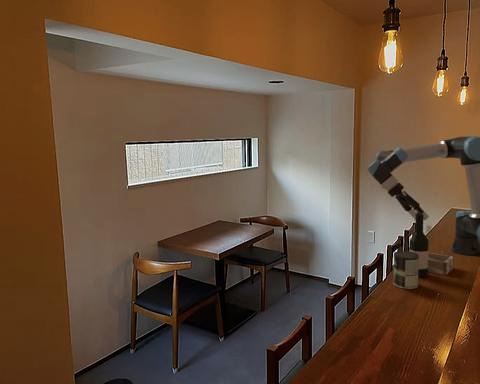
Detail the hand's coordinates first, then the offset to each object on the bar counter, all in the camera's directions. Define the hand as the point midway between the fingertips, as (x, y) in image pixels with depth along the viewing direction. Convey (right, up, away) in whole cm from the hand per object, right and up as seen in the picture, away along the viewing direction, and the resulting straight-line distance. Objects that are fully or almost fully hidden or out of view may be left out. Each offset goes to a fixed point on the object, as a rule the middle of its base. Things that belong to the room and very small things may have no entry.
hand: (423, 219), depth 193 cm
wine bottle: (-5, -26, -5) cm, 27 cm away
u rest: (+7, -25, +1) cm, 25 cm away
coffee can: (-16, -28, -17) cm, 36 cm away
